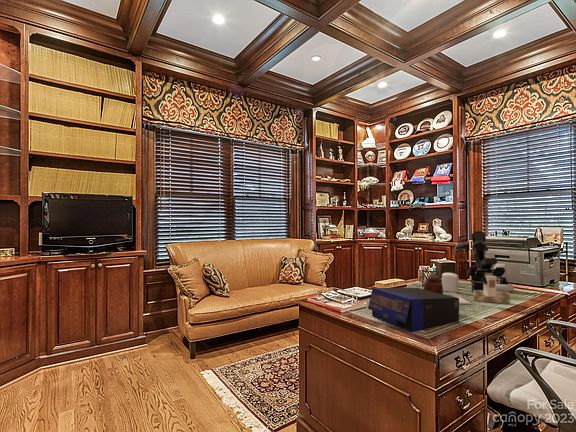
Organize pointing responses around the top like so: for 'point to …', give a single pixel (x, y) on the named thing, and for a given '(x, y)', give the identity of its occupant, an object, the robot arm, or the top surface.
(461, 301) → the pad
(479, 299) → the birch partition
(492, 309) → the top surface
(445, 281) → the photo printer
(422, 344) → the top surface
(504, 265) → the decorative figurine
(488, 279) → the plain beige block
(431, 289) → the wooden figurine
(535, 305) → the top surface
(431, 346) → the top surface
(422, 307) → the headphone box
